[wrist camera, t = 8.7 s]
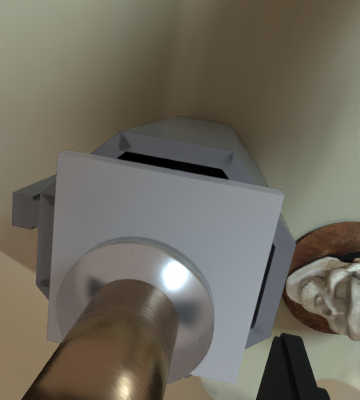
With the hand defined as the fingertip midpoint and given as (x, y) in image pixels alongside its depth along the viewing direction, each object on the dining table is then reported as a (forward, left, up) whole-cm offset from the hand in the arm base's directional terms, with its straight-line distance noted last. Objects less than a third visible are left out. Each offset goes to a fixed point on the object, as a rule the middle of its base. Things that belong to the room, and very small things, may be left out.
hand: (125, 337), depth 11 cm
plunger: (0, 0, -20) cm, 20 cm away
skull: (-16, +7, -23) cm, 29 cm away
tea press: (+2, 0, -23) cm, 23 cm away
